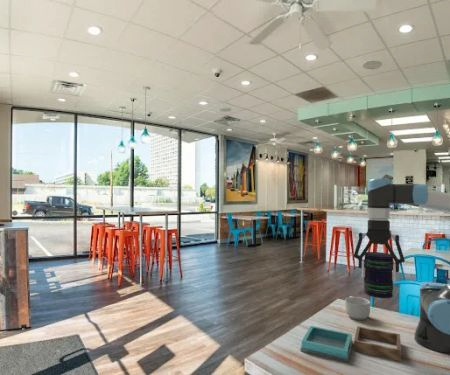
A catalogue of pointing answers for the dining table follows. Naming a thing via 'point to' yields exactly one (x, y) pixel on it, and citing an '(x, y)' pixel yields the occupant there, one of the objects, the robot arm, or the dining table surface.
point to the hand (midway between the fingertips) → (378, 278)
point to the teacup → (357, 307)
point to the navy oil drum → (378, 275)
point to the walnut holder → (374, 348)
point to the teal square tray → (327, 343)
